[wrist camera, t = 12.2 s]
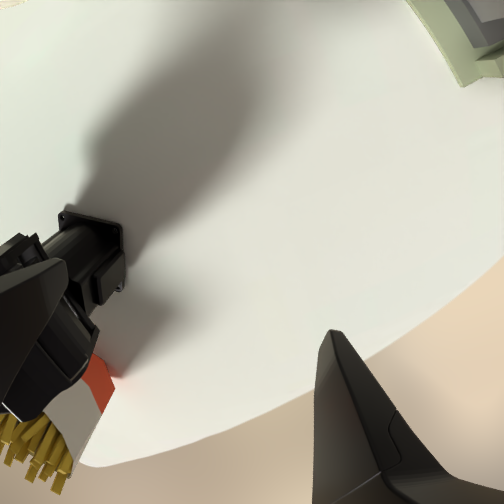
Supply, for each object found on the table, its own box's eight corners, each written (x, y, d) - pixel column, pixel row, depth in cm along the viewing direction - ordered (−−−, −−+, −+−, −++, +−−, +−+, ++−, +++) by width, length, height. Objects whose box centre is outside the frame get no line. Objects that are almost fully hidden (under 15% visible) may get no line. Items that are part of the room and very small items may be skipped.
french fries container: (50, 318, 30) (-32, 431, 14) (124, 372, 32) (62, 500, 17) (46, 337, 32) (-25, 440, 17) (114, 385, 34) (59, 500, 19)
